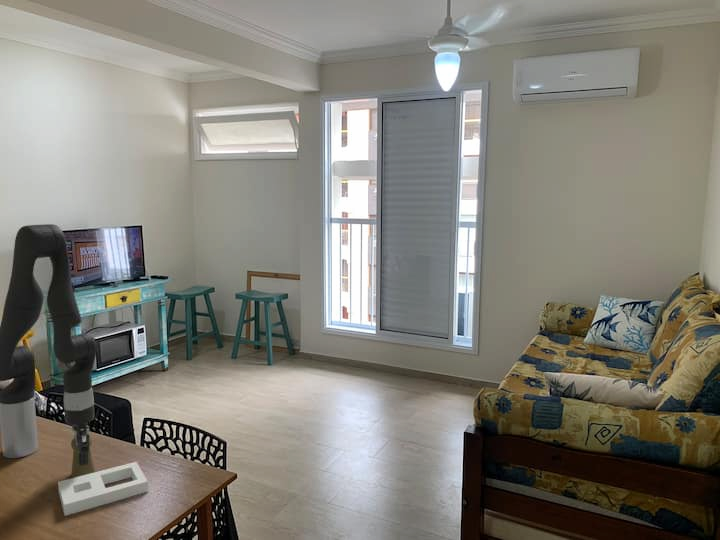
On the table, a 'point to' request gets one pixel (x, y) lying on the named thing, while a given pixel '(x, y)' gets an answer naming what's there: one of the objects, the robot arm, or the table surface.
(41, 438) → the table surface
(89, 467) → the olive knobbed peg
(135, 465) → the socket board
